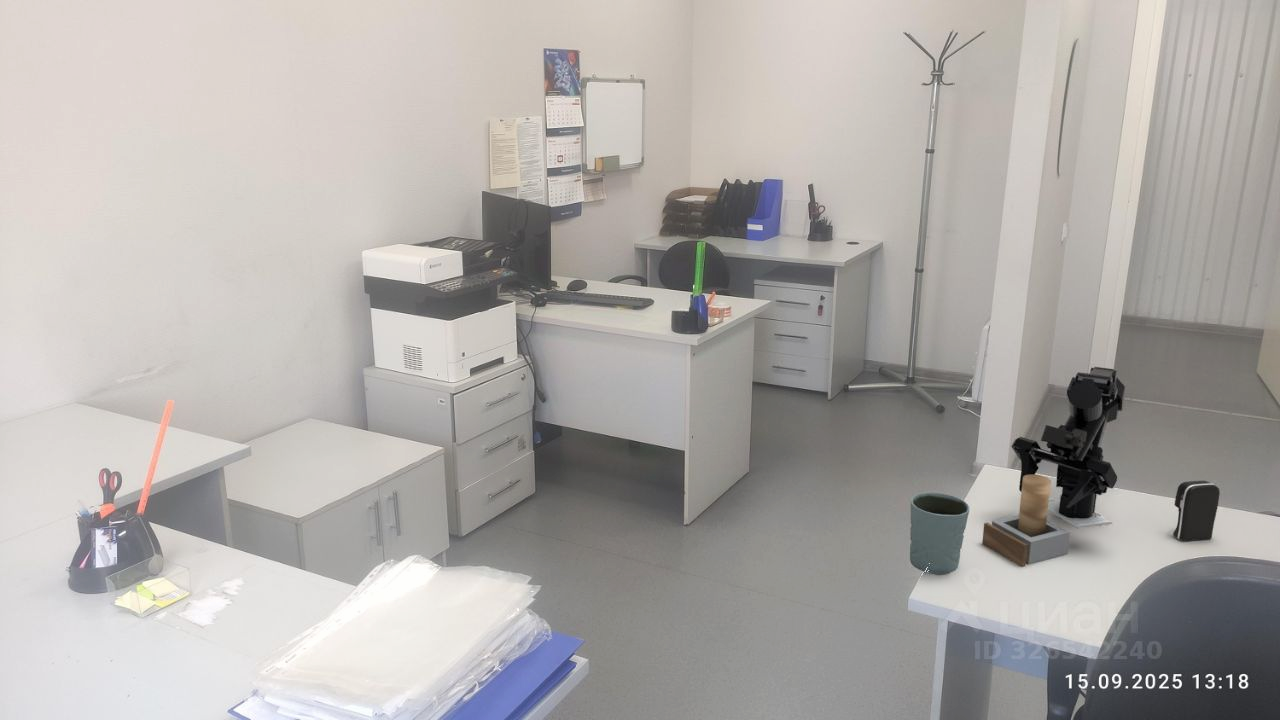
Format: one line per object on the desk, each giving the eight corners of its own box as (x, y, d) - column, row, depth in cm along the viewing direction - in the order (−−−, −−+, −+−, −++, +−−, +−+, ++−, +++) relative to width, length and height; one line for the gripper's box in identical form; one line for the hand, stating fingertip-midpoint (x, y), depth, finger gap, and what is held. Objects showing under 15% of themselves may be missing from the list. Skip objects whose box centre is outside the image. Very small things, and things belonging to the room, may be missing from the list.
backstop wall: (985, 543, 171) (987, 522, 170) (1025, 566, 162) (1027, 544, 161) (982, 544, 171) (984, 523, 170) (1022, 567, 162) (1024, 545, 161)
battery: (1198, 530, 175) (1207, 477, 172) (1213, 539, 172) (1222, 484, 169) (1166, 533, 174) (1174, 479, 171) (1180, 542, 171) (1189, 487, 168)
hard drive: (1036, 501, 188) (1077, 525, 177) (1069, 496, 190) (1112, 520, 178) (1035, 508, 189) (1077, 533, 177) (1069, 503, 191) (1111, 528, 179)
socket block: (1027, 532, 175) (1029, 511, 174) (1067, 553, 167) (1070, 532, 165) (989, 542, 172) (992, 520, 170) (1028, 564, 163) (1031, 542, 162)
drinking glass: (895, 556, 167) (899, 497, 164) (937, 545, 171) (941, 488, 168) (932, 581, 158) (937, 519, 155) (976, 569, 162) (981, 508, 159)
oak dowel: (1037, 537, 171) (1044, 474, 168) (1047, 548, 166) (1055, 484, 163) (1012, 537, 171) (1018, 474, 168) (1021, 548, 167) (1028, 484, 163)
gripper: (1021, 397, 175) (984, 463, 171) (1117, 422, 160) (1079, 495, 157) (1038, 426, 181) (1003, 490, 178) (1132, 452, 167) (1096, 522, 164)
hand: (1043, 498), depth 169 cm, fingers open, 9 cm apart
